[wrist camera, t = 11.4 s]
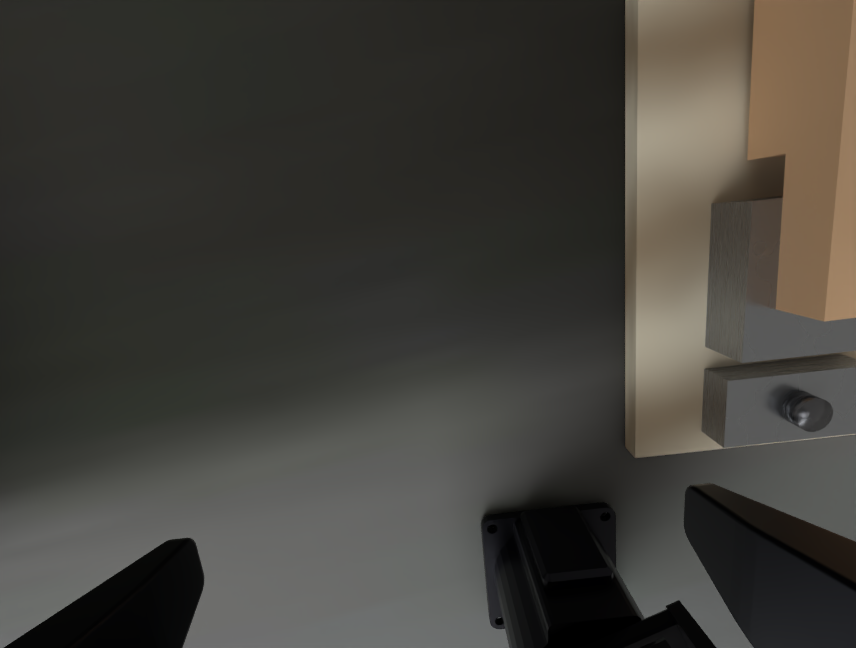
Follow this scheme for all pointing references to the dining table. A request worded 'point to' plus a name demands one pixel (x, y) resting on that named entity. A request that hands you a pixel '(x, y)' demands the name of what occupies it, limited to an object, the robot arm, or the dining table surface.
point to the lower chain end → (768, 342)
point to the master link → (809, 146)
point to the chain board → (681, 203)
